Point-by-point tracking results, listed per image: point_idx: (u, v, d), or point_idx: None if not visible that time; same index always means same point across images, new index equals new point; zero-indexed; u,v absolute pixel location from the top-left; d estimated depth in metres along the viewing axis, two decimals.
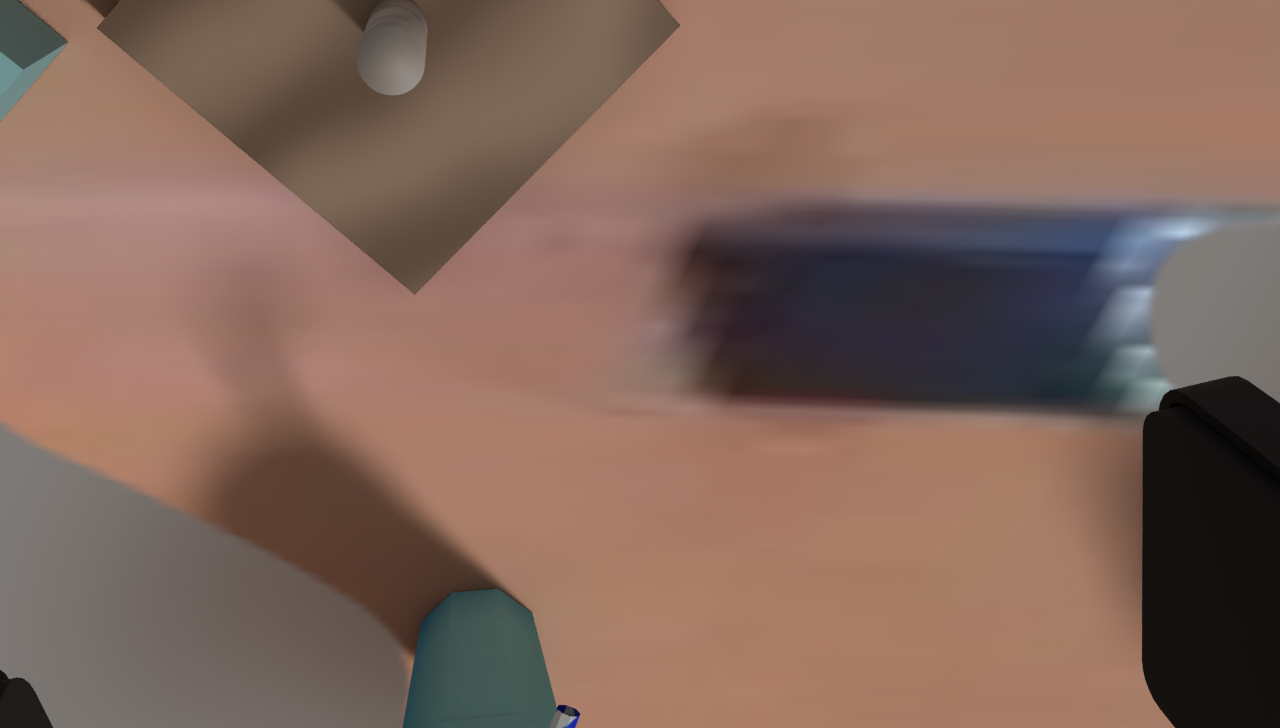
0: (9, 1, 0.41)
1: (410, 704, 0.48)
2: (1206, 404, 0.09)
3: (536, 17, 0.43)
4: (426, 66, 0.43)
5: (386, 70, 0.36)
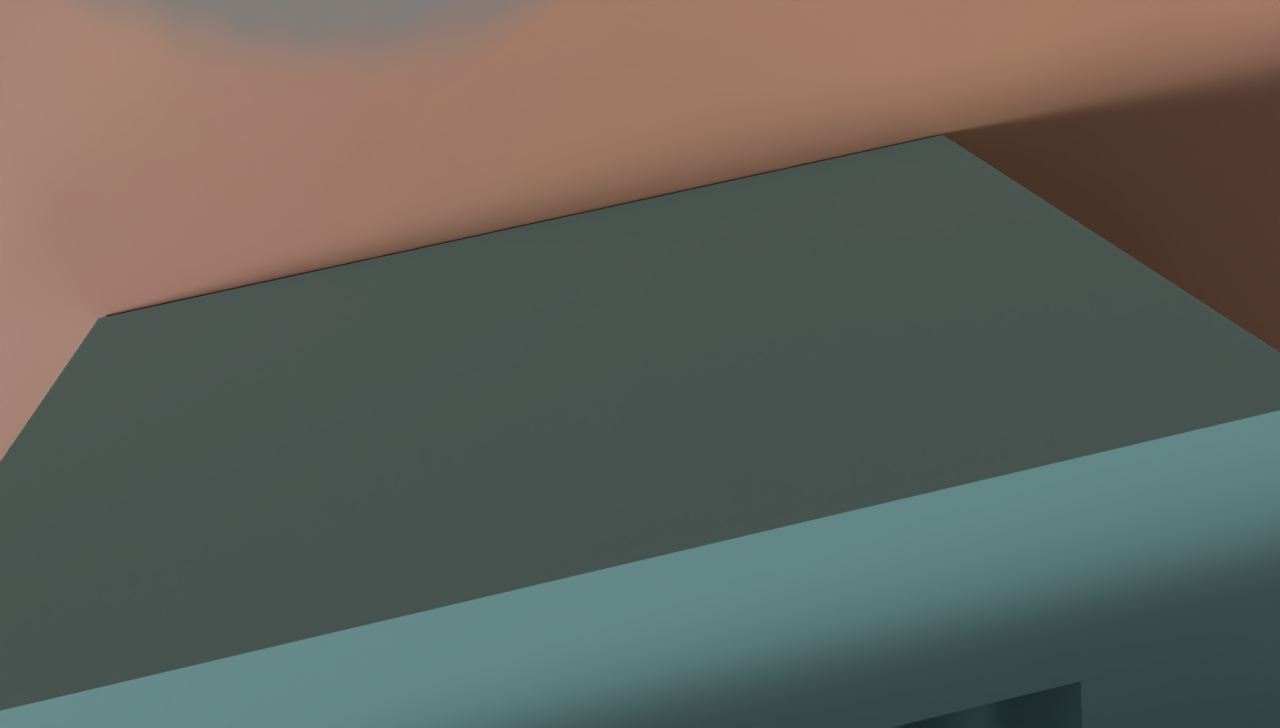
0: None
1: None
2: None
3: None
4: None
5: None
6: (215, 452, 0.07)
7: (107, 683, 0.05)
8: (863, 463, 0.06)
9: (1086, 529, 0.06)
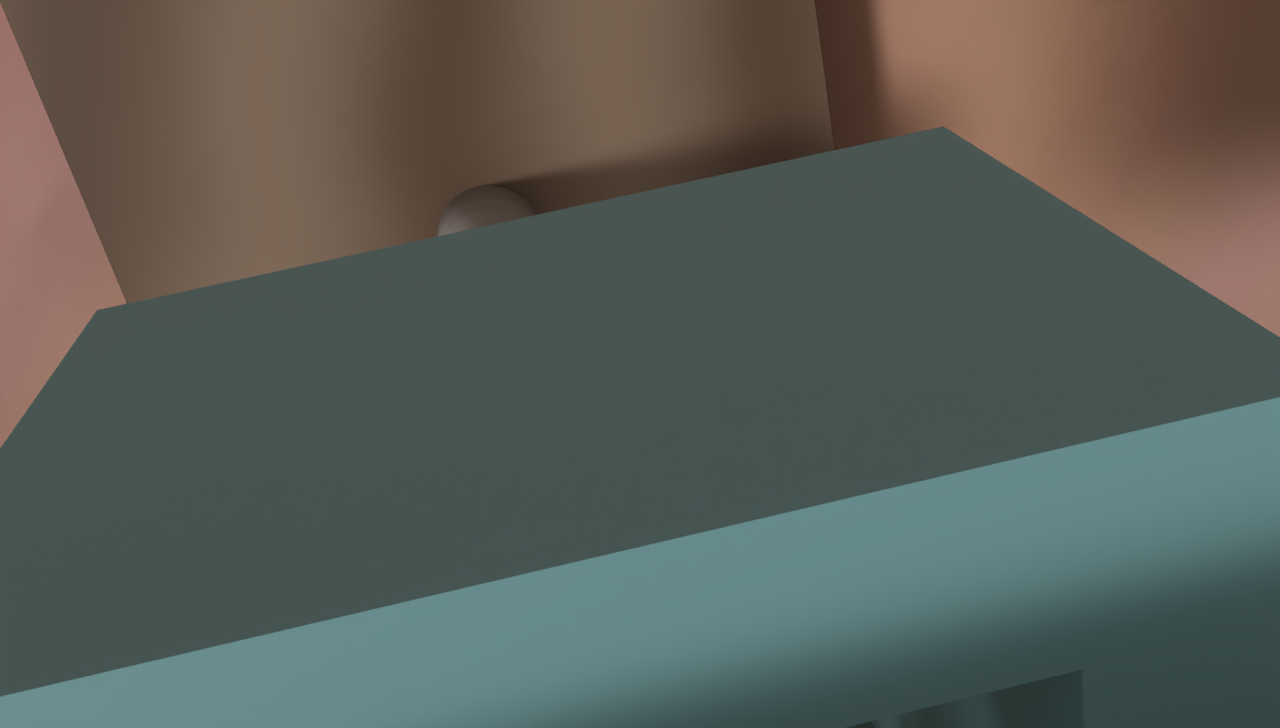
0: None
1: None
2: None
3: None
4: (404, 237, 0.24)
5: None
6: (213, 441, 0.07)
7: (105, 671, 0.05)
8: (862, 450, 0.06)
9: (1086, 517, 0.06)
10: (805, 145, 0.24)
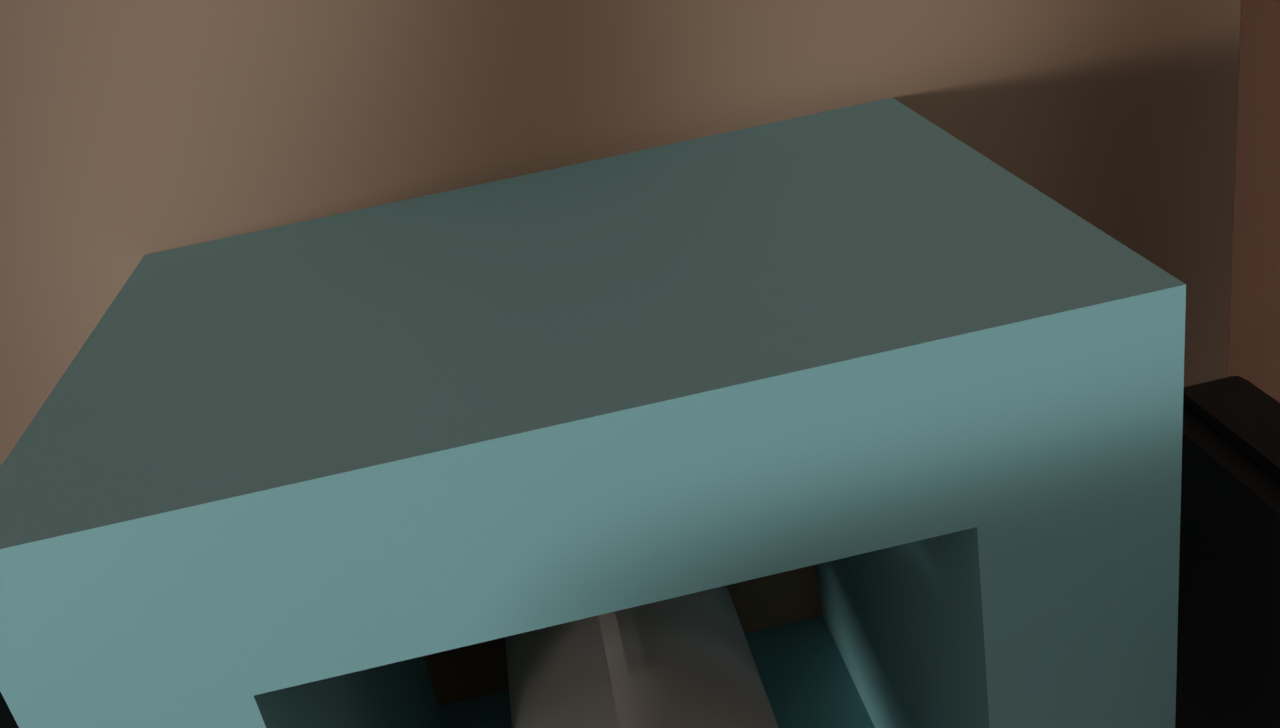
0: None
1: None
2: (1206, 404, 0.09)
3: None
4: None
5: None
6: (257, 350, 0.08)
7: (182, 507, 0.07)
8: (797, 341, 0.07)
9: (975, 393, 0.07)
10: None
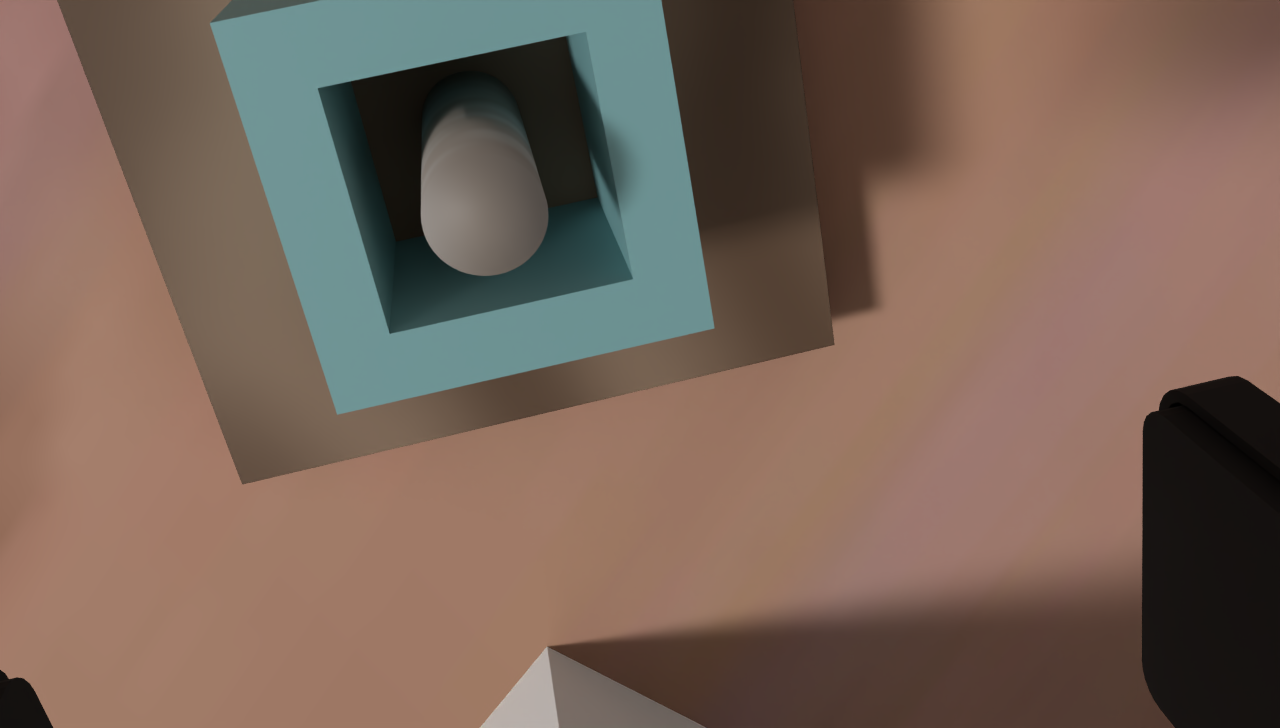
0: None
1: None
2: (1206, 404, 0.09)
3: None
4: (390, 120, 0.25)
5: (476, 200, 0.19)
6: None
7: (294, 5, 0.19)
8: None
9: None
10: (771, 41, 0.25)
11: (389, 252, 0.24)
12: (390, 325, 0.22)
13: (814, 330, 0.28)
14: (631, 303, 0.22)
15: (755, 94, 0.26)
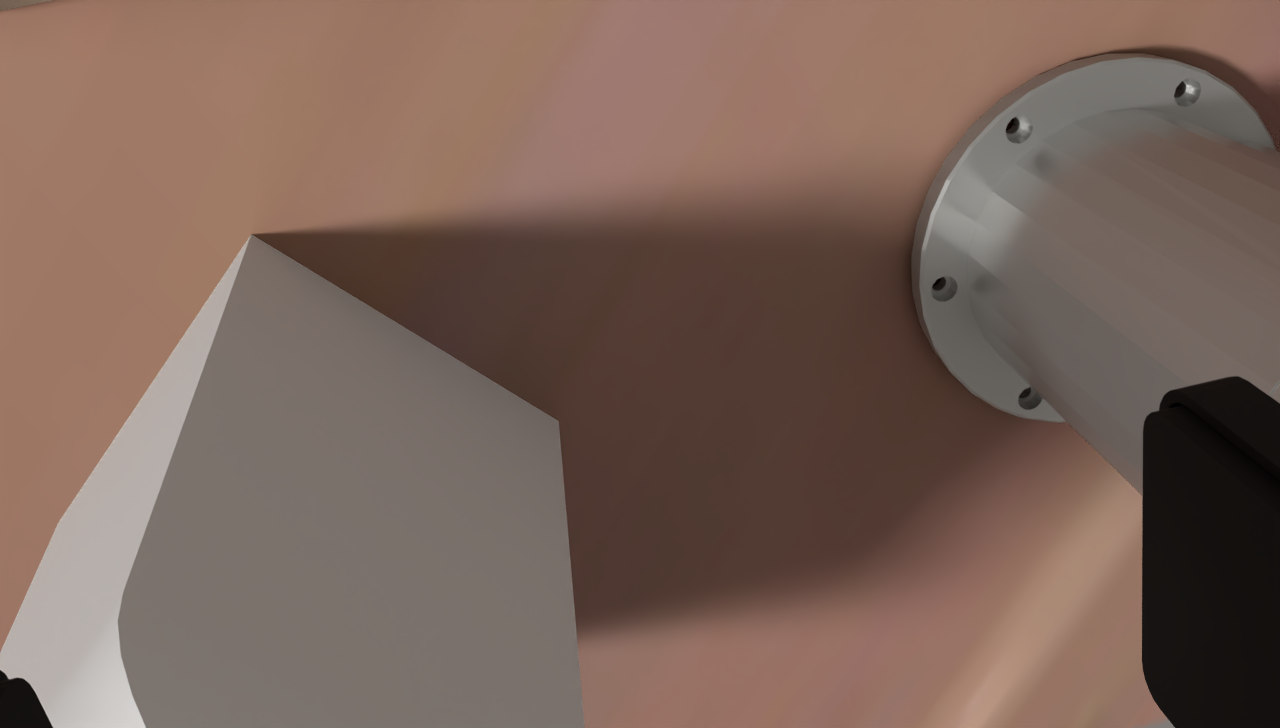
0: None
1: None
2: (1206, 404, 0.09)
3: None
4: None
5: None
6: None
7: None
8: None
9: None
10: None
11: None
12: None
13: None
14: None
15: None
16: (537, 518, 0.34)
